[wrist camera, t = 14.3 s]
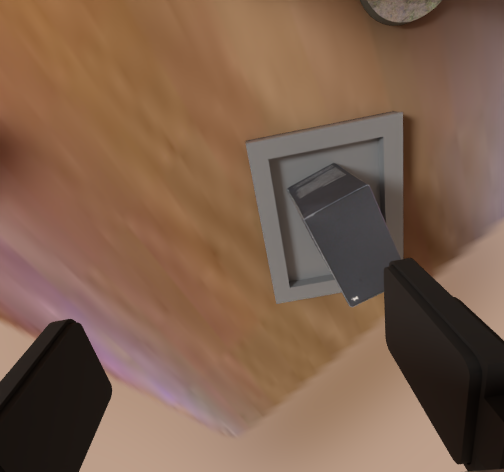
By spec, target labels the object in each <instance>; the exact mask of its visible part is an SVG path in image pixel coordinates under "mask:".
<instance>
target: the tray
mask: <svg viewBox="0 0 504 472" xmlns="http://www.w3.org/2000/svg"><path fill="white" fill-rule="evenodd" d="M246 148H247V153H248V158H249V163H250V168H251V174H252V179H253V184H254V189H255V195H256V200H257V205H258V210H259V215H260V221H261V226H262V231H263V236H264V241H265V247H266V252H267V257H268V262H269V268H270V273H271V278H272V283H273V288H274V294H275V299H276V304H279V303H284V302H290V301H296V300H301V299H307V298H313V297H318V296H324V295H330V294H335V293H341V290H340V288H339V286H338V284H337V282H336V281H335V279H334V277H333V275H332V273H331V271H330V270H329V268H328V266H327V264H326V263H325V261H324V259H323V257H322V255H321V254H320V252H319V250H318V248H317V247H316V246H315V243H314V241H313V240H312V238H311V236H310V234H309V232H308V230H307V228H306V226H305V224H304V223H303V221H302V219H301V217H300V215H299V213H298V211H297V209H296V207H295V205H294V204H293V202H292V200H291V198H290V196H289V194H288V192H287V188H289V187H290V186H292V185H294V184H296V183H297V182H299V181H301V180H303V179H305V178H307V177H308V176H310V175H312V174H314V173H316V172H318V171H319V170H321V169H323V168H325V167H327V166H329V165H330V164H332V163H336V164H337V165H339V166H340V167H342V168H343V169H345V170H346V171H348V172H349V173H351V174H352V175H354V176H355V177H357V178H359V179H360V180H362V181H363V182H365V183H366V184H368V185H370V187H371V190H372V192H373V194H374V197H375V199H376V202H377V204H378V206H379V209H380V211H381V213H382V216H383V218H384V220H385V223H386V225H387V227H388V230H389V232H390V234H391V236H392V239H393V241H394V243H395V246H396V248H397V250H398V252H399V255H400V257H401V259H403V112H396V111H392V112H387V113H382V114H377V115H372V116H367V117H363V118H358V119H353V120H348V121H343V122H338V123H333V124H328V125H323V126H318V127H313V128H308V129H303V130H298V131H293V132H288V133H283V134H278V135H273V136H268V137H263V138H258V139H253V140H248V141H246Z"/></svg>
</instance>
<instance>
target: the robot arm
mask: <svg viewBox="0 0 504 472" xmlns="http://www.w3.org/2000/svg"><path fill="white" fill-rule="evenodd" d="M384 302H385V333H386V342H387V346H388V349H389V351H390V353H391V354H392V356H393V358H394V359H395V361H396V363H397V365H398V366H399V368H400V369H401V371H402V373H403V375H404V377H405V378H406V380H407V382H408V383H409V385H410V386H411V388H412V390H413V392H414V394H415V395H416V397H417V398H418V400H419V402H420V404H421V406H422V407H423V409H424V411H425V412H426V414H427V416H428V417H429V419H430V421H431V423H432V424H433V426H434V428H435V429H436V431H437V433H438V435H439V436H440V438H441V440H442V442H443V443H444V445H445V447H446V448H447V450H448V452H449V454H450V455H451V457H452V458H453V460H454V461H455V462H456V463H457V464H464V466H465V467H466V469H467V471H468V472H504V341H503V340H502V339H501V338H500V337H499V336H498V335H497V334H496V333H495V332H494V331H493V330H492V329H490V327H488V326H487V325H486V324H485V323H484V322H483V321H482V320H481V319H480V318H479V317H478V316H476V314H474V313H473V312H472V311H471V310H470V309H469V308H468V307H467V306H466V305H465V304H464V303H463V302H462V301H460V300H459V299H457V298H456V297H453V296H451V295H450V294H449V293H448V292H447V291H446V290H445V289H444V288H443V287H442V286H441V285H440V284H439V283H438V282H437V281H436V280H435V279H433V278H432V277H431V276H430V275H429V274H428V273H427V272H426V271H425V270H424V269H423V268H422V267H421V266H420V265H419V264H418V263H417V262H415V261H414V260H413V259H412V258H406V259H401V260H395V261H391V262H390V263H389V267H385V268H384ZM111 395H112V386H111V383H110V381H109V379H108V377H107V375H106V373H105V371H104V369H103V367H102V365H101V363H100V361H99V359H98V357H97V355H96V353H95V351H94V349H93V347H92V345H91V343H90V341H89V339H88V337H87V335H86V333H85V331H84V329H83V327H82V325H81V324H80V323H76V321H74V320H73V319H67V320H62V321H56V322H52V323H50V324H49V325H48V326H47V327H46V328H45V329H44V331H43V332H42V333H41V334H40V335H39V337H38V338H37V339H36V340H35V341H34V343H33V344H32V345H31V346H30V347H29V349H28V350H27V351H26V352H25V353H24V354H23V356H22V357H21V358H20V359H19V360H18V362H17V363H16V364H15V365H14V366H13V368H12V369H11V370H10V371H9V372H8V373H7V374H6V376H5V377H4V378H3V379H2V380H1V382H0V472H79V470H80V468H81V465H82V463H83V461H84V459H85V456H86V454H87V452H88V449H89V447H90V444H91V442H92V440H93V438H94V435H95V433H96V431H97V428H98V426H99V424H100V421H101V419H102V417H103V415H104V412H105V410H106V408H107V405H108V403H109V401H110V398H111Z"/></svg>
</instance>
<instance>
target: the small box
mask: <svg viewBox="0 0 504 472" xmlns="http://www.w3.org/2000/svg"><path fill="white" fill-rule="evenodd" d="M287 192H288V194H289V196H290V198H291V200H292V202H293V204H294V205H295V207H296V209H297V211H298V213H299V215H300V217H301V219H302V221H303V223H304V224H305V226H306V228H307V230H308V232H309V234H310V236H311V238H312V240H313V241H314V243H315V246H316V247H317V248H318V250H319V252H320V254H321V255H322V257H323V259H324V261H325V263H326V264H327V266H328V268H329V270H330V271H331V273H332V275H333V277H334V279H335V281H336V282H337V284H338V286H339V288H340V290H341V292H342V293H343V295H344V297H345V299H346V301H347V303H348V304H349V306H350V307H354V306H356V305H358V304H360V303H362V302H364V301H366V300H368V299H370V298H373V297H374V296H377V295H379V294H381V293H383V292H384V268H385V267H389V263H390V262H391V261H395V260H401V257H400V255H399V252H398V250H397V248H396V246H395V243H394V241H393V239H392V236H391V234H390V232H389V230H388V227H387V225H386V223H385V220H384V218H383V216H382V213H381V211H380V209H379V206H378V204H377V202H376V199H375V197H374V194H373V192H372V190H371V187H370V185H368V184H366V183H365V182H363V181H362V180H360V179H359V178H357V177H355V176H354V175H352V174H351V173H349V172H348V171H346V170H345V169H343V168H342V167H340V166H339V165H337V164H336V163H332V164H330V165H329V166H327V167H325V168H323V169H321V170H319V171H318V172H316V173H314V174H312V175H310V176H308V177H307V178H305V179H303V180H301V181H299V182H297V183H296V184H294V185H292V186H290V187H289V188H287Z"/></svg>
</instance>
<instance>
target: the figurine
mask: <svg viewBox="0 0 504 472" xmlns="http://www.w3.org/2000/svg"><path fill="white" fill-rule="evenodd" d="M360 1H361V3H362V5H363V7H364V9H365V10H366V12H367V13H368V14H369V15H370V16H371V17H372V18H374V19H375V20H376V21H378V22H380V23H383V24H386V25H403V24H407V23H409V22H412V21H414V20H416V19H419V18H421V17H423V16H424V15H426V14H427V13H429V12H430V11H431V10H433V9H434V8H435V7H436V6H437V5H438V4H439V3H440V2H441V1H442V0H360Z"/></svg>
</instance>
